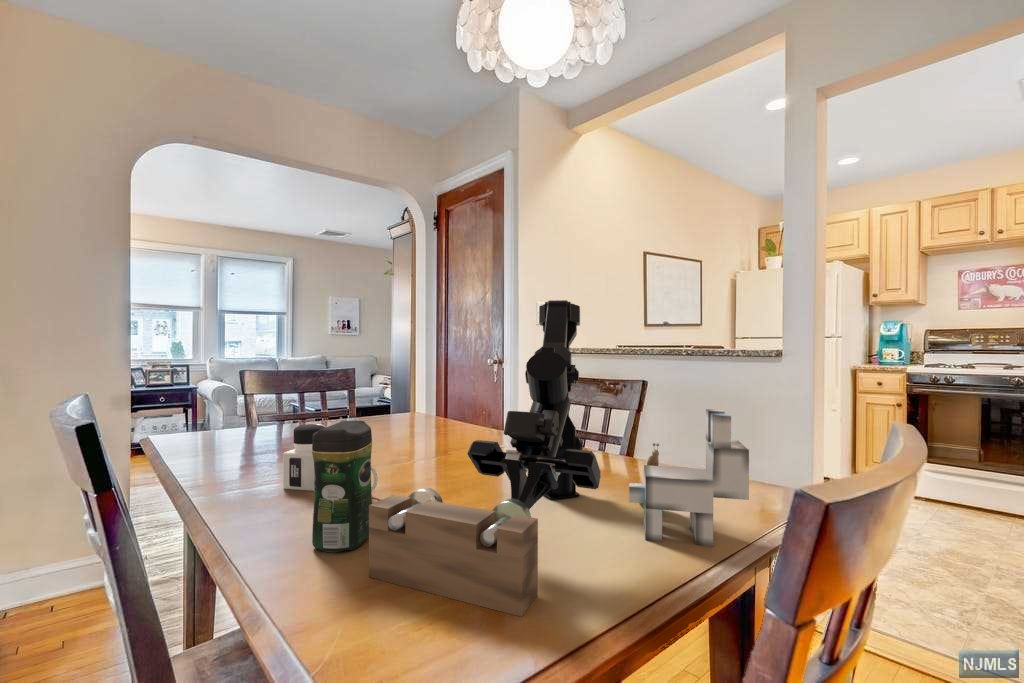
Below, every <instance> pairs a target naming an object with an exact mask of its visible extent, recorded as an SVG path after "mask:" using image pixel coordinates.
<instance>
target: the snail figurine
mask: <svg viewBox="0 0 1024 683" xmlns="http://www.w3.org/2000/svg"><path fill="white" fill-rule="evenodd" d="M655 446H656V447H657V449H655V448H654V449H653V450H652V452H651V455H649V457H648V459H647V462H646V465H650V466H660V465H659V464H660V463H659V455H660V452H659V448H658V447H659V446H660V444H659V443H658V442H657V443H655V442H653V443H652V447H655ZM638 504H639V505H640V507H641V508H642V509H643V510H644V503H638Z"/></svg>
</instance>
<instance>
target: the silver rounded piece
mask: <svg viewBox="0 0 1024 683" xmlns="http://www.w3.org/2000/svg"><path fill="white" fill-rule="evenodd" d="M408 495H409V496H407V497H411V507H409V508H407V509H405V510H403V511H401V512H399V513H397V514H395V515H393V516H391V517H390V518H389V520H388V525H389V527H390V528H391V529H392V530H394V531H395V530H398V529H400V528H401V527H403V526H405V517H406V511H408V510H410V509H412V508H414V507H416V506H418V505H420V504H422V503H424V502H426V501H428V500H429V501H435V502H441V503H444V502H443V499H442V496H441V495H440V494H439V492H438V491H437V490H435V489H434V488H432V487H421V488H420V489H417V490H415V491H413V492H412V493H410V494H408Z"/></svg>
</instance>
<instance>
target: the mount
mask: <svg viewBox="0 0 1024 683" xmlns="http://www.w3.org/2000/svg"><path fill="white" fill-rule="evenodd" d="M409 507H411V497H408V496H405V495H398V494H391V495H389V496H386V497H384V498H382V499H380V500H378V501H375V502H372V504H371V505H369V537H368V578H372V579H374V580H378V581H382V582H386V583H389V584H394V585H398V586H402V587H405V588H409V589H413V590H417V591H421V592H425V593H429V594H432V595H436V596H439V597H440V596H441V597H444V598H446V599H447V598H449V599H450V600H451V599H452V600H455V601H460V602H464V603H467V604H471V605H475V606H479V607H482V608H487V609H491V610H494V611H499V612H502V613H505V614H510V615H514V616H517V617H522V616H524V614H525V613H526V611H527V610H528V609H529V608H530V606H531V605H532V604H533V603H534V601H535V600H536V599H537V597H538V596H539V595H538V594H539V593H538V592H539V590H538V588H539V587H538V586H539V584H538V583H539V580H538V579H539V574H538V573H539V565H538V564H539V549H538V548H539V544H538V543H539V541H538V540H539V535H538V534H539V518H537V517H532V516H531V517H526V516H520V515H514V516H513V517H511V518H510V519H509V520H507V521H506V522H505V523H504V524H502V525H501V526H500V527H498V528H497V541H496V542H495V543H494V544H493V545H491V546H489V547H487V546H484V545H483V544H482V542H481V540H480V535H481V533H482V532H484V531H485V530H486V529H488V528H489V527H490V526H492V525H493V524H494V523H495V511H493V510H488V509H482V508H476V507H470V506H465V505H458V504H452V503H446V502H443V503H441V502H435V501H429V500H428V501H426V502H424V503H422V504H420V505H418V506H416V507H414V508H412V509H410V510H408V511H406V517H405V526H403V527H401V528H400V529H398V530H395V531H394V530H392V529H391V528H390V527H389V525H388V520H389V518H390V517H391V516H393V515H395V514H397V513H399V512H401V511H403V510H405V509H407V508H409Z"/></svg>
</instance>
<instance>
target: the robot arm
mask: <svg viewBox="0 0 1024 683" xmlns="http://www.w3.org/2000/svg"><path fill="white" fill-rule="evenodd" d="M571 302H572V301H568V300H565V299H564V300H563V299H562V300H561V299H560V300H559V299H558V300H553V299H552V300H551V299H550V300H548V301H545V302H544V304H541V305H539V309H538V310H539V311H538V312H539V315H538V324H539V325H540V326H542V330H543V331H542V332H543V340H542V346H541V347H540V348H538V349H537V350H536V351H534V355H532V356H531V357H530V358H528V360H527V362H526V365H525V368H526V369H525V374H524V375H525V382H526V384H528V389H529V391H528V392H529V396H530V399H531V400H532V403H531V406H530V409H529V411H520V410H518V411H517V410H509V411H507V414H506V420H505V424H504V429H503V435H504V436H508V437H509V438H511V439H510V442H509V444H510V445H511V447H512V448H515V450H513V449H506V450H505V451H503V450H502V448H501V446H500V444H499V442H498V441H490V440H482V439H477V440H474V441H473V442H472V443H471V444H470V447H469V448H468V450H467V453H466V455H467V456H468V458H469V460H470V461H471V463H472V465H474V468H475V470H476V471H477V472H478V473H480V475H483V476H489V477H496V478H497V477H500V476H501V475H504V473H505V474H506V476H507V478H508V480H509V483H510V496H511V497H510V499H511V498H512V499H517V500H520V501H521V502H523V503H524V504H525V505H526V506H527V508H528V509H529V510H531V509H532V507H533V506H535V504H537V502H538V501H540V499H542V498H543V497H544V496H545V497H546V498H548V499H550V500H558V499H570V498H577V497H578V498H579V497H580V494H581V493H579V492H578V491H577V490H576V489H577V488H583V489H589V490H597V489H599V486H600V482H601V468H600V466H599V463H598V460H597V456H596V455H595V453H594V452H593V450H584V447H583V446H584V445H583V442H581V439H580V435H578V436H577V428H576V426H575V425H574V422H573V421H572V419H571V418H570V416H569V415H570V414H569V412H570V408H571V400H570V396H569V395H570V392H571V391H572V387H575V386H576V385H577V382H578V381H579V379H580V371H579V370H578V369H577V367H576V364H572V352H571V351H570V346H571V345H572V343H573V342H574V340H575V338H576V337H577V336H578V332H577V331H578V326H581V308H580V305H577V304H575V303H571Z"/></svg>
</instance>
